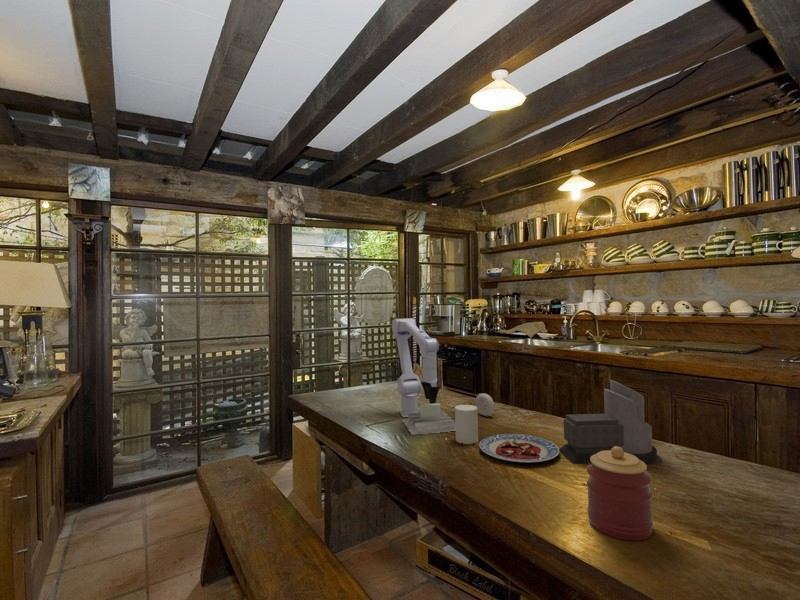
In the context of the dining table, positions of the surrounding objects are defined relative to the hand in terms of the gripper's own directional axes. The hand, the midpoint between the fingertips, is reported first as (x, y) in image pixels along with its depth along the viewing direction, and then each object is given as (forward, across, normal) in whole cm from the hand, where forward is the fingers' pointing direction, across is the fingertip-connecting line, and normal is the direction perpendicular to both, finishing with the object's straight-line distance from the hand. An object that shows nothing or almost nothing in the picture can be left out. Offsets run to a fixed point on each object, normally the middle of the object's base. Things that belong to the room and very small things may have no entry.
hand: (430, 401), depth 166 cm
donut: (+11, -9, +27) cm, 30 cm away
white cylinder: (+11, +19, +9) cm, 24 cm away
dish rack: (+10, 0, 0) cm, 10 cm away
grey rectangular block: (+9, 0, 0) cm, 9 cm away
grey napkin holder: (+11, +43, +49) cm, 67 cm away
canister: (+11, +80, +24) cm, 84 cm away
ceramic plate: (+11, +34, +22) cm, 42 cm away
